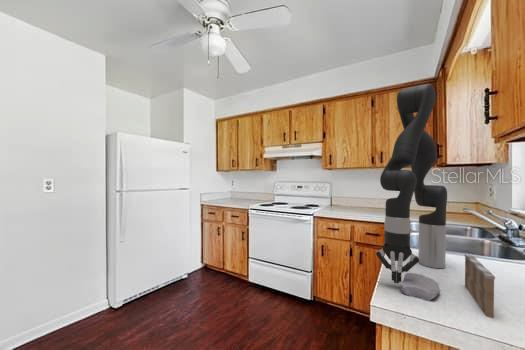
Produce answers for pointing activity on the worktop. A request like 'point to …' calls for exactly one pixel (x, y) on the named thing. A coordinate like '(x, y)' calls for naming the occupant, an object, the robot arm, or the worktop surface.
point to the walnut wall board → (480, 284)
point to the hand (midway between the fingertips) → (396, 282)
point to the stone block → (419, 286)
